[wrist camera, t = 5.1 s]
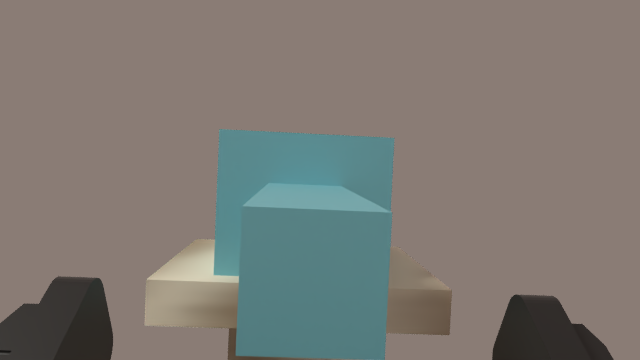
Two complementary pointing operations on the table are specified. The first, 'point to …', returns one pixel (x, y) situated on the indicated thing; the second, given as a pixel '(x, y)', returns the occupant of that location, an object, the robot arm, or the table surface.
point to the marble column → (222, 297)
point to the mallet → (306, 241)
